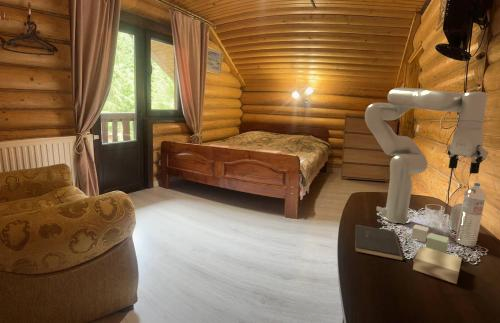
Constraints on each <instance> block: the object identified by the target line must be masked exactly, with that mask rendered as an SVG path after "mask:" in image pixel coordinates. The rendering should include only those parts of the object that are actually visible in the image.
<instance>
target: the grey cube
mask: <svg viewBox="0 0 500 323" xmlns="http://www.w3.org/2000/svg"><path fill="white" fill-rule="evenodd" d="M429 230H430V228H429V227H427V226H423V225H419V224H414V225H413V227H412V232H411V238H410V239H411V240H412V239H417V240H418V241H417V242H419V241H420V243H423V242H425V243H427V240H426V239H428V237H427V236H429Z"/></svg>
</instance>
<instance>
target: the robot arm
mask: <svg viewBox="0 0 500 323" xmlns="http://www.w3.org/2000/svg"><path fill="white" fill-rule="evenodd" d="M488 97H489V96H488V94H487V93H486V92H485V91H467V92H465V93H464V92H456V91H450V90H449V91H448V90H447V91H446V90H431V89H430V90H429V89H425V88H412V87H395V88H393V89H390V91H389V92H388V93H387V96H386V98H387V101H388V102H373V103H371V104H370V105H368V106H367V107H366V109H365V113H364V121H365V123H366V126H367V128H368V129H369V130H370V132H371V134H372V135H373V136H374V138H375V139H376V141H377V144H379V146H380V148H381V149H382V151H383V152H384V154H385V155H388V156H393V157H392V158H391V159H390V162H389V173H390V174H389V183H388V192H387V199H386V204H385V207H382V206H376V209H375V210H376V211H377V213H378V212H379V213H381V215H380V217H381V218H382V220H384V221H386V222H388V223H393V224H396V223H406V222H407V221H408V219H410V218H409V217H408V213H409V209H410V208H409V207H410V203H411V202H410V201H411V194H412V188H413V179H412V176H411V175H416V174H422V173H424V172H425V171H426V170H427V168H428V165H429V163H428V160H427V157H426V155H425V154H424V153H423V151H422V149H420V148H419V146H418V144H417V143H416V142H415V141H414V139H413V138H411V137H409V136H406V135H398V134H396V132H394V130H393V129H392V127H391V126H390V125H389V124H388V122H387V123H386V122H385V121H396V120H397V119H399V118H400V117H402V116H403V115H404V114H406V113H408V111H410V110H411V109H416V110H417V109H418V110H420V109H421V110H422V109H423V110H429V111H430V110H431V111H437V112H448V113H449V112H450V113H451V112H452V113H459V118H458V122H457V128H455V130H454V132H453V136H452V138H451V142H450V143H451V144H449V145H447V146H446V150H447V155H448V158H449V161H448V162H449V163H448V169H457V168H458V160H459V156H460V157H468V158H469V157H470V159H471V161H472V162H470V167H469V174H479V170H480V166H481V165H480V164H482V163H483V161H484V160H486V157H488V155H489V152H488V151H487V150H486V149H485V148H484V147H483V146H484V130H483V125H484V121H485V114H486V109H487V102H488Z"/></svg>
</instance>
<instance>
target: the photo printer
mask: <svg viewBox="0 0 500 323" xmlns="http://www.w3.org/2000/svg"><path fill="white" fill-rule="evenodd" d="M462 205H463V202H461V203H458V204H455V205H453V206H451V209H450V214H449V221H448V224H450V227H451V228H452V230H454V231H455V232H456V233H457V229H458V224H459V218H460V213H461V210H462Z"/></svg>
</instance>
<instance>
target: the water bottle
mask: <svg viewBox="0 0 500 323" xmlns="http://www.w3.org/2000/svg"><path fill="white" fill-rule="evenodd" d="M480 186H481V183H479V182H474V183H473V186H471V187H469V188H467V189H466V190H465V191H464V192H463V193H464V194H463V200H462V203H463V205H462V210H461V213H460V218H459V224H458V229H457V232H456V235H455V242H456V244H458V243H459V244H458V245H460V244H461V245H460V246H463V245H464V246H463V247H466V246H469V247H468V248H474V247H475V246H476V245H477V241H478V237H479V232H480V229H481V228H480V227H481V222H482V217H483V210H484V207H485V201H486V199H487V194H486V193H485V191H484V190H483V189H482V188H481V187H480Z"/></svg>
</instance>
